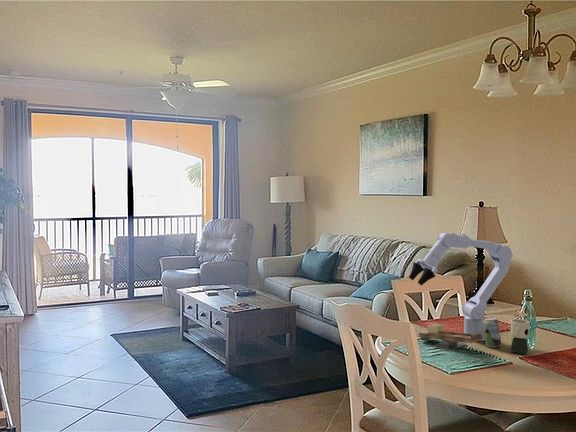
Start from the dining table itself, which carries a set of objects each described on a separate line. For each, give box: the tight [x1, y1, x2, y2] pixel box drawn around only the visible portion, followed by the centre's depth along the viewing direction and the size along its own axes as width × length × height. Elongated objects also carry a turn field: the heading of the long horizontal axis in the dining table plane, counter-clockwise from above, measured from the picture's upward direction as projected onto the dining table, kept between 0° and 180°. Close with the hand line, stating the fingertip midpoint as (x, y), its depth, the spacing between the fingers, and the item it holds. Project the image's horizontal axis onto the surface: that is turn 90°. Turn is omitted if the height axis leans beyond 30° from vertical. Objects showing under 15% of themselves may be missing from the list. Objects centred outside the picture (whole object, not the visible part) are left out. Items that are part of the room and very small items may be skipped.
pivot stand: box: [432, 340, 468, 352], centre depth 235 cm, size 8×13×3 cm, turn 132°
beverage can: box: [483, 317, 502, 348], centre depth 235 cm, size 6×7×12 cm
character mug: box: [510, 318, 531, 355], centre depth 226 cm, size 11×7×13 cm, turn 147°
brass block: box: [427, 323, 446, 335], centre depth 240 cm, size 5×5×4 cm
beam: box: [418, 330, 483, 344], centre depth 235 cm, size 25×9×4 cm, turn 42°
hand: (415, 281), depth 242 cm, fingers open, 7 cm apart
